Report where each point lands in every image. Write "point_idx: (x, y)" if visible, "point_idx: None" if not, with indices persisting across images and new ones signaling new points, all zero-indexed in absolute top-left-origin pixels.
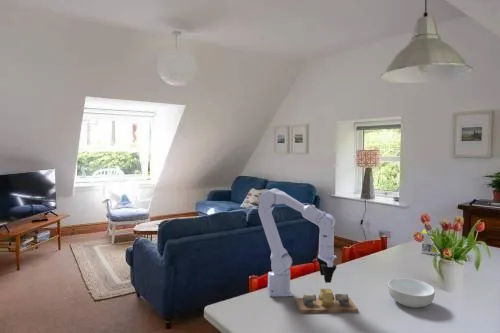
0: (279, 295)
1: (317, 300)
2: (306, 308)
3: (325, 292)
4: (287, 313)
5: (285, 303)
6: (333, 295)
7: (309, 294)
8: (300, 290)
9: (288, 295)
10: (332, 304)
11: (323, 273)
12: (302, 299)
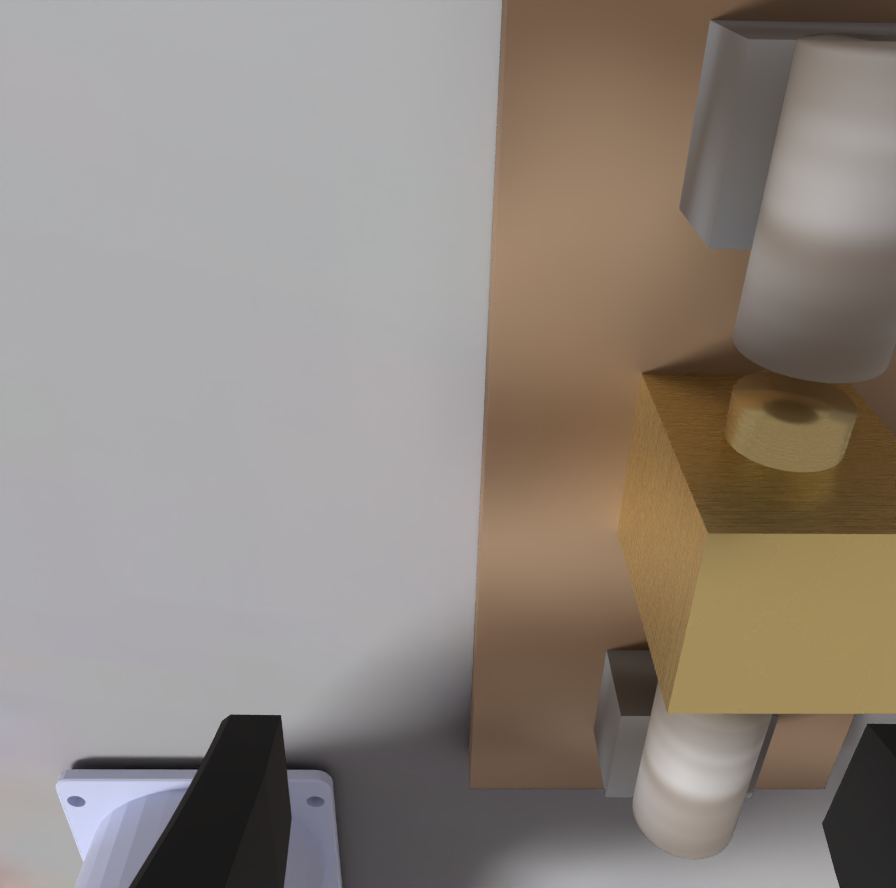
0: (338, 884)
1: (582, 558)
2: (812, 725)
3: (887, 664)
4: (779, 843)
5: (525, 835)
6: (839, 435)
7: (709, 802)
8: (83, 652)
9: (333, 813)
10: (851, 390)
11: (273, 826)
12: (521, 725)
